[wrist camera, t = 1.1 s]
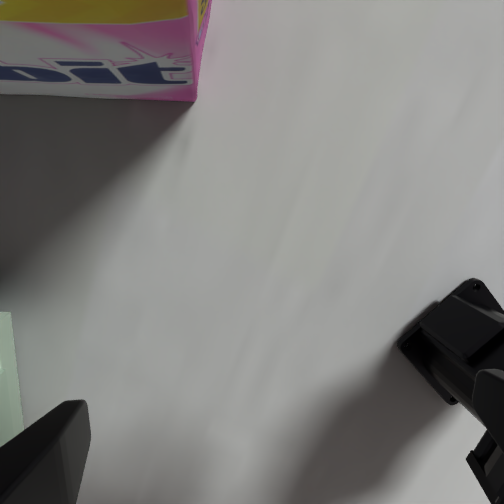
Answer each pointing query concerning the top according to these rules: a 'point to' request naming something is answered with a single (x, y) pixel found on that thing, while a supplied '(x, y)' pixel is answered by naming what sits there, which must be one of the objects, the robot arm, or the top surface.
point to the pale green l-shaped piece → (9, 383)
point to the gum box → (103, 48)
